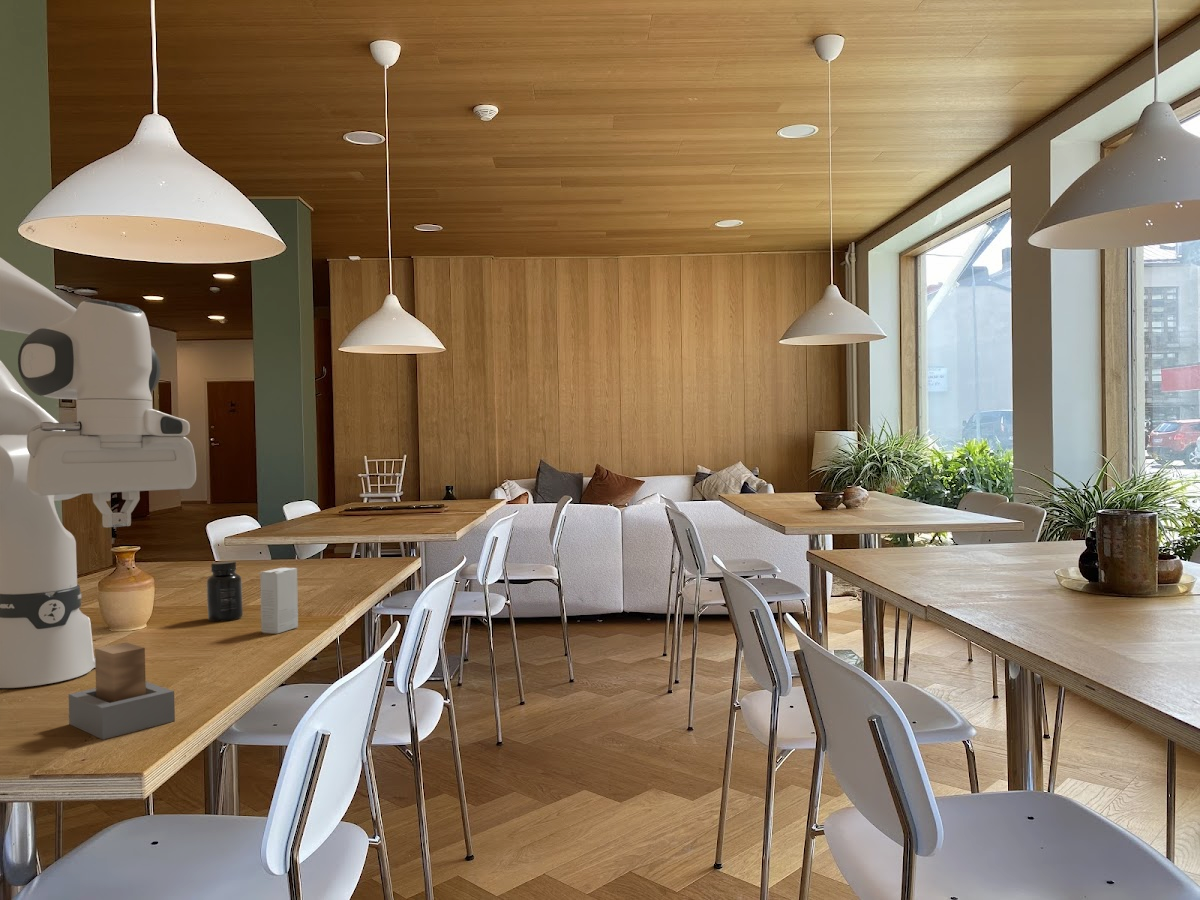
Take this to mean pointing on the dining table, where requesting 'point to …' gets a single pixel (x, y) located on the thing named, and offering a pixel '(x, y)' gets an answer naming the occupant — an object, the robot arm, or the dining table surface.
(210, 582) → the supplement bottle
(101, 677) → the walnut peg
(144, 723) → the holder
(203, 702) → the dining table surface
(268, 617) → the skincare box
